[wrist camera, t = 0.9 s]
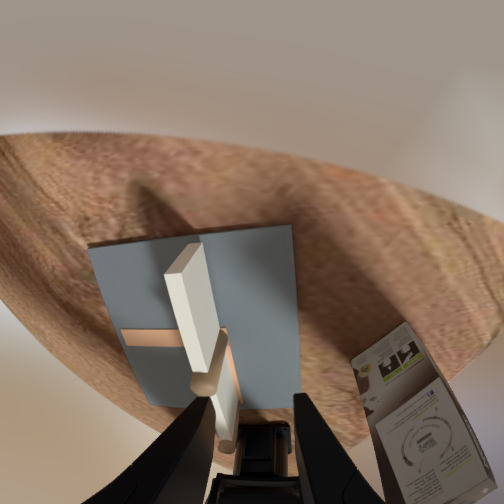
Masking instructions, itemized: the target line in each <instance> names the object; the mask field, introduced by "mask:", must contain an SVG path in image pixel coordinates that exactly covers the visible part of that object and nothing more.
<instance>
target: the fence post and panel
mask: <svg viewBox="0 0 504 504" xmlns="http://www.w3.org/2000/svg"><path fill="white" fill-rule="evenodd" d="M227 342H228V336H227V334H226V333H225V332H224V331H223V330H219V334H218V338H217V341H216V345H215V348H214V352H213V356H212V359H211V363H210V367H209V370H208V373H200V372H194V373H193V376H192V379H191V382H190V389H191V390H192V391H193V392H194V393H195V394H197V395H199V396H209V397H210V398H211V400H212V403H213V406H214V408H215V411H216V424H215V428H216V431H217V433H218V436H219V438H220V441H219V447H218V450H219V451H220V452H222V453H225V454H231V453H234V452H235V445H236V438H237V430H238V423H239V415H240V407H241V402H240V401H239V400H238V398H237V394H236V390H235V386H234V382H233V378H232V374H231V369H230V365H229V361H228V357H227V352H226V347H227Z"/></svg>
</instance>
